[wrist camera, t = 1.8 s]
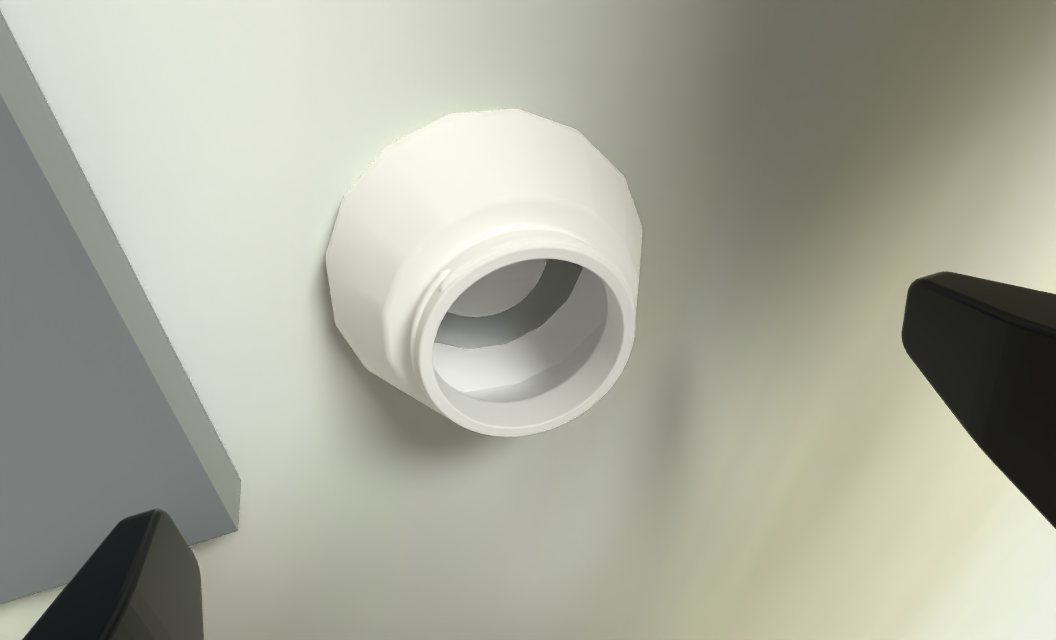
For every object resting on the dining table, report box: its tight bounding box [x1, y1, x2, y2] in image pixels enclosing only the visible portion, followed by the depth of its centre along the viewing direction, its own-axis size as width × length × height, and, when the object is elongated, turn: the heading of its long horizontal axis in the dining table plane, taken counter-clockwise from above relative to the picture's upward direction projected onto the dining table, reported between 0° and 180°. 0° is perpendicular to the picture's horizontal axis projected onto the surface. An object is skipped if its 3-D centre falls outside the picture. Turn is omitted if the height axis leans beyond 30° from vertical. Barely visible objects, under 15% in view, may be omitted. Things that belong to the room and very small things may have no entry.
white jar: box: [325, 108, 643, 437], centre depth 11 cm, size 5×3×5 cm
